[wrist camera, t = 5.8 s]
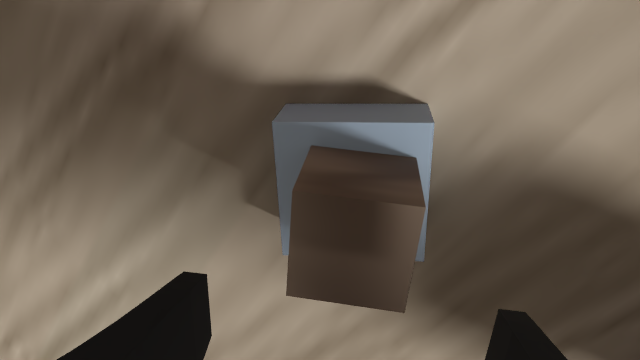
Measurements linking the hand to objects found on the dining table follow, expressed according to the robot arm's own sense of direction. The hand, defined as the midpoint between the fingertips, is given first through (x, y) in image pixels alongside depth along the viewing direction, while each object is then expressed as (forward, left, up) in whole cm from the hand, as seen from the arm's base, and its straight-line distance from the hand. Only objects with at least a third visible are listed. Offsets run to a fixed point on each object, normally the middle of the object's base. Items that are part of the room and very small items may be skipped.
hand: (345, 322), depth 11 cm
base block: (0, 0, -10) cm, 10 cm away
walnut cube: (0, 0, -7) cm, 7 cm away
